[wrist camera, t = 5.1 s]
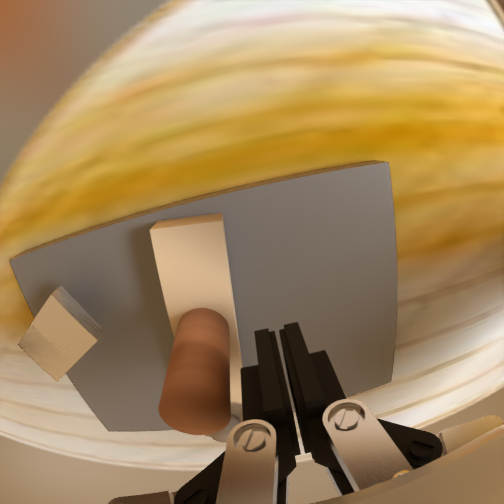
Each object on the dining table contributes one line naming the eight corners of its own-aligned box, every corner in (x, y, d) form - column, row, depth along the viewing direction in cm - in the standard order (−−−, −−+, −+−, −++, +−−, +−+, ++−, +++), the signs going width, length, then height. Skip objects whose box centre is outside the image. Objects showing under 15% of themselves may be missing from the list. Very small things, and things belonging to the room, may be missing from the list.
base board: (375, 160, 15) (388, 162, 13) (383, 369, 20) (391, 381, 18) (21, 252, 15) (9, 260, 13) (112, 418, 20) (108, 431, 18)
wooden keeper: (118, 306, 15) (98, 340, 12) (77, 349, 16) (57, 381, 13) (79, 267, 14) (51, 294, 11) (43, 316, 15) (18, 344, 12)
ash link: (258, 418, 18) (269, 503, 12) (200, 422, 18) (196, 506, 11) (233, 211, 13) (236, 269, 7) (148, 222, 13) (84, 284, 7)
